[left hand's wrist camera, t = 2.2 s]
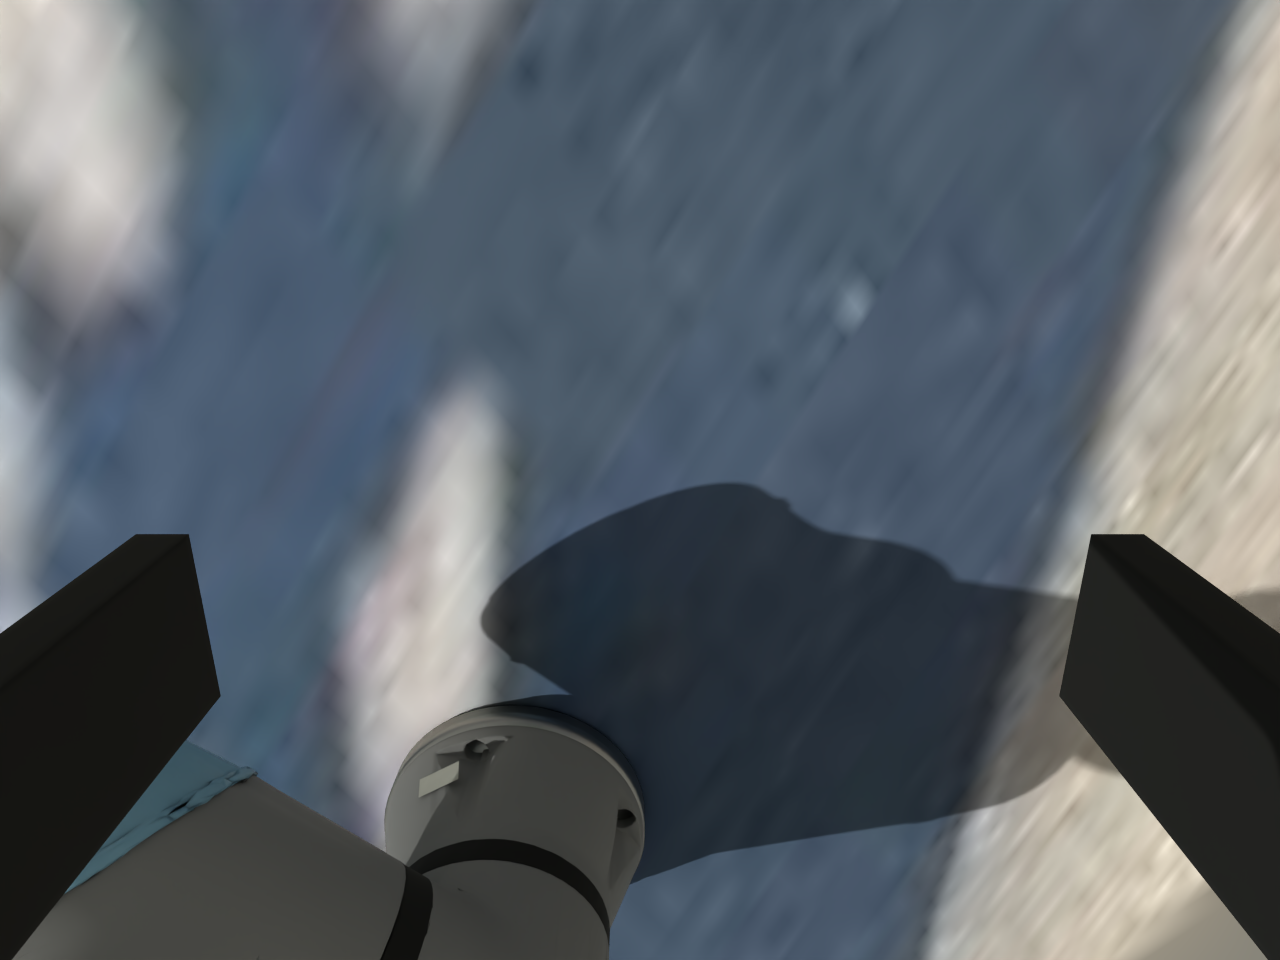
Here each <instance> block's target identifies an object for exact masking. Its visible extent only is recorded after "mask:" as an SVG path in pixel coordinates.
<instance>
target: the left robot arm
mask: <svg viewBox="0 0 1280 960" xmlns="http://www.w3.org/2000/svg"><path fill="white" fill-rule="evenodd" d="M219 697H220V690H219V685H218V680H217V675H216V670H215V665H214V660H213V655H212V650H211V645H210V640H209V635H208V630H207V625H206V619H205V614H204V609H203V604H202V599H201V594H200V589H199V584H198V579H197V574H196V569H195V564H194V559H193V554H192V549H191V543H190V538H189V534H136V535H134V536H133V537H132V538H130V539H129V540H128V541H126V542H125V543H124V544H122V545H121V546H119V547H118V548H117V549H115V550H114V551H113V552H111V553H110V554H108V555H107V556H106V557H104V558H103V559H102V560H100V561H99V562H98V563H96V564H95V565H93V566H92V567H91V568H89V569H88V570H87V571H85V572H84V573H82V574H81V575H80V576H78V577H77V578H76V579H74V580H73V581H72V582H70V583H69V584H67V585H66V586H65V587H63V588H62V589H61V590H59V591H58V592H57V593H55V594H54V595H52V596H51V597H50V598H48V599H47V600H46V601H44V602H43V603H41V604H40V605H39V606H37V607H36V608H35V609H33V610H32V611H31V612H29V613H28V614H26V615H25V616H24V617H22V618H21V619H20V620H18V621H17V622H16V623H14V624H13V625H11V626H10V627H9V628H7V629H6V630H5V631H3V632H2V633H0V960H609V938H610V928H611V925H612V923H613V921H614V919H615V916H616V914H617V912H618V909H619V907H620V905H621V903H622V900H623V898H624V896H625V894H626V891H627V889H628V887H629V884H630V882H631V880H632V878H633V875H634V873H635V871H636V869H637V867H638V865H639V862H640V859H641V856H642V852H643V847H644V839H645V813H644V799H643V794H642V790H641V786H640V783H639V781H638V778H637V776H636V774H635V772H634V770H633V768H632V766H631V765H630V763H629V762H628V760H627V759H626V758H625V756H624V755H623V754H622V753H621V752H620V750H619V749H618V748H617V747H616V746H615V745H614V744H613V743H612V742H611V741H610V740H608V739H607V738H606V737H605V736H603V735H602V734H601V733H600V732H598V731H597V730H595V729H593V728H592V727H590V726H589V725H587V724H585V723H583V722H581V721H579V720H577V719H575V718H572V717H570V716H568V715H565V714H562V713H559V712H556V711H552V710H547V709H543V708H537V707H530V706H496V707H488V708H483V709H478V710H474V711H470V712H467V713H464V714H461V715H459V716H456V717H454V718H452V719H450V720H448V721H446V722H444V723H442V724H440V725H439V726H437V727H436V728H434V729H433V730H431V731H430V732H429V733H427V734H426V735H425V736H424V737H423V738H422V739H421V740H420V741H419V742H418V743H417V744H416V745H415V746H414V747H413V748H412V749H411V751H410V752H409V754H408V755H407V757H406V758H405V760H404V761H403V763H402V765H401V767H400V769H399V772H398V774H397V777H396V779H395V782H394V784H393V787H392V789H391V792H390V795H389V797H388V801H387V805H386V809H385V819H384V823H385V841H386V853H385V852H384V851H382V850H380V849H379V848H377V847H375V846H373V845H372V844H370V843H368V842H367V841H365V840H363V839H361V838H360V837H358V836H356V835H355V834H353V833H351V832H349V831H348V830H346V829H344V828H343V827H341V826H339V825H337V824H336V823H334V822H332V821H331V820H329V819H327V818H325V817H324V816H322V815H320V814H319V813H317V812H315V811H313V810H312V809H310V808H308V807H307V806H305V805H303V804H301V803H300V802H298V801H296V800H295V799H293V798H291V797H289V796H288V795H286V794H284V793H283V792H281V791H279V790H277V789H276V788H274V787H273V786H271V785H269V784H268V783H266V782H264V781H263V780H261V779H260V778H258V777H256V776H257V774H258V773H257V772H256V771H255V770H254V769H252V768H250V767H242V768H240V767H238V766H236V765H234V764H232V763H230V762H228V761H226V760H224V759H222V758H220V757H219V756H217V755H215V754H213V753H211V752H209V751H207V750H205V749H203V748H201V747H199V746H197V745H195V744H193V743H191V742H189V741H187V740H186V739H187V738H188V737H189V735H190V734H191V733H192V731H193V730H194V729H195V728H196V726H197V725H198V724H199V723H200V721H201V720H202V719H203V718H204V716H205V715H206V714H207V712H208V711H209V710H210V709H211V707H212V706H213V705H214V704H215V702H216V701H217V700H218V699H219ZM1060 697H1061V699H1062V700H1063V701H1064V702H1065V704H1066V705H1067V706H1068V707H1069V709H1070V710H1071V711H1072V712H1073V714H1074V715H1075V716H1076V718H1077V719H1078V720H1079V721H1080V723H1081V724H1082V725H1083V726H1084V728H1085V729H1086V730H1087V731H1088V733H1089V734H1090V735H1091V737H1092V738H1093V739H1094V740H1095V742H1096V743H1097V744H1098V745H1099V747H1100V748H1101V749H1102V750H1103V752H1104V753H1105V754H1106V755H1107V757H1108V758H1109V759H1110V761H1111V762H1112V763H1113V764H1114V766H1115V767H1116V768H1117V769H1118V771H1119V772H1120V773H1121V774H1122V776H1123V777H1124V778H1125V780H1126V781H1127V782H1128V783H1129V785H1130V786H1131V787H1132V788H1133V790H1134V791H1135V792H1136V793H1137V795H1138V796H1139V797H1140V798H1141V800H1142V801H1143V802H1144V804H1145V805H1146V806H1147V807H1148V809H1149V810H1150V811H1151V812H1152V814H1153V815H1154V816H1155V817H1156V819H1157V820H1158V821H1159V822H1160V824H1161V825H1162V826H1163V828H1164V829H1165V830H1166V831H1167V833H1168V834H1169V835H1170V836H1171V838H1172V839H1173V840H1174V841H1175V843H1176V844H1177V845H1178V847H1179V848H1180V849H1181V850H1182V852H1183V853H1184V854H1185V855H1186V857H1187V858H1188V859H1189V860H1190V862H1191V863H1192V864H1193V865H1194V867H1195V868H1196V869H1197V871H1198V872H1199V873H1200V874H1201V876H1202V877H1203V878H1204V879H1205V881H1206V882H1207V883H1208V884H1209V886H1210V887H1211V888H1212V890H1213V891H1214V892H1215V893H1216V895H1217V896H1218V897H1219V898H1220V900H1221V901H1222V902H1223V903H1224V905H1225V906H1226V907H1227V908H1228V910H1229V911H1230V912H1231V913H1232V915H1233V916H1234V917H1235V919H1236V920H1237V921H1238V922H1239V924H1240V925H1241V926H1242V927H1243V929H1244V930H1245V931H1246V932H1247V934H1248V935H1249V936H1250V938H1251V939H1252V940H1253V941H1254V943H1255V944H1256V945H1257V946H1258V948H1259V949H1260V950H1261V951H1262V953H1263V954H1264V955H1265V957H1266V958H1267V959H1268V960H1280V633H1278V632H1277V631H1275V630H1274V629H1273V628H1271V627H1270V626H1269V625H1267V624H1266V623H1264V622H1263V621H1262V620H1260V619H1259V618H1258V617H1256V616H1255V615H1254V614H1252V613H1251V612H1249V611H1248V610H1247V609H1245V608H1244V607H1243V606H1241V605H1240V604H1239V603H1237V602H1236V601H1234V600H1233V599H1232V598H1230V597H1229V596H1228V595H1226V594H1225V593H1223V592H1222V591H1221V590H1219V589H1218V588H1217V587H1215V586H1214V585H1213V584H1211V583H1210V582H1208V581H1207V580H1206V579H1204V578H1203V577H1202V576H1200V575H1199V574H1197V573H1196V572H1195V571H1193V570H1192V569H1191V568H1189V567H1188V566H1187V565H1185V564H1184V563H1182V562H1181V561H1180V560H1178V559H1177V558H1176V557H1174V556H1173V555H1172V554H1170V553H1169V552H1167V551H1166V550H1165V549H1163V548H1162V547H1161V546H1159V545H1158V544H1156V543H1155V542H1154V541H1152V540H1151V539H1150V538H1148V537H1147V536H1146V535H1144V534H1091V538H1090V543H1089V549H1088V554H1087V559H1086V564H1085V569H1084V574H1083V579H1082V584H1081V589H1080V594H1079V599H1078V604H1077V609H1076V614H1075V619H1074V625H1073V630H1072V635H1071V640H1070V645H1069V650H1068V655H1067V660H1066V665H1065V670H1064V675H1063V680H1062V685H1061V690H1060Z"/></svg>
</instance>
